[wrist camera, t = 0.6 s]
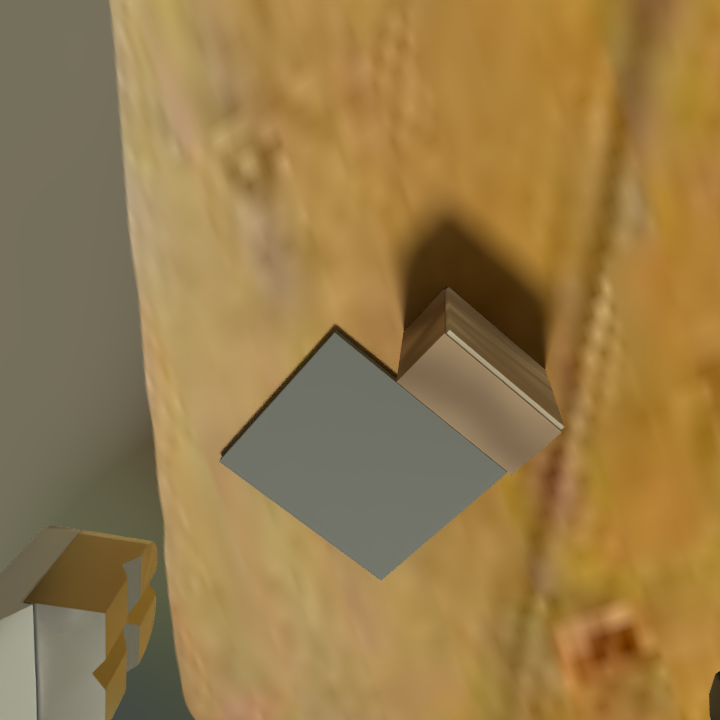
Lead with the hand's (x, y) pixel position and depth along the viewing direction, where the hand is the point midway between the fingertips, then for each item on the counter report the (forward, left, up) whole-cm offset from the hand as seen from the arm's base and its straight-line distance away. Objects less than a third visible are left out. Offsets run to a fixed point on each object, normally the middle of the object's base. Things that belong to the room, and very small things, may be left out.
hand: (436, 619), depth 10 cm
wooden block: (+7, +9, -35) cm, 37 cm away
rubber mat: (+19, +9, -35) cm, 41 cm away
